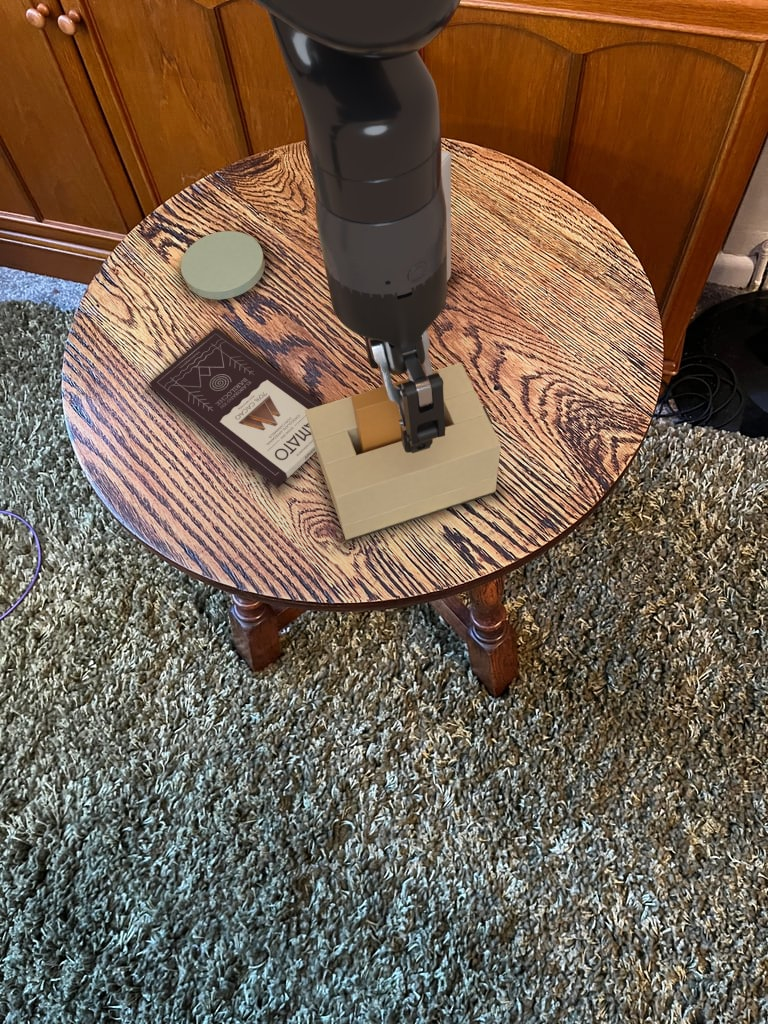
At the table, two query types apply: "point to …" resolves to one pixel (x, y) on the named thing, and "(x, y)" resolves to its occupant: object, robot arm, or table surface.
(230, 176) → the table surface
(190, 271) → the plate
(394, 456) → the toaster
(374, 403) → the toast
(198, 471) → the table surface
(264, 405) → the chocolate bar
